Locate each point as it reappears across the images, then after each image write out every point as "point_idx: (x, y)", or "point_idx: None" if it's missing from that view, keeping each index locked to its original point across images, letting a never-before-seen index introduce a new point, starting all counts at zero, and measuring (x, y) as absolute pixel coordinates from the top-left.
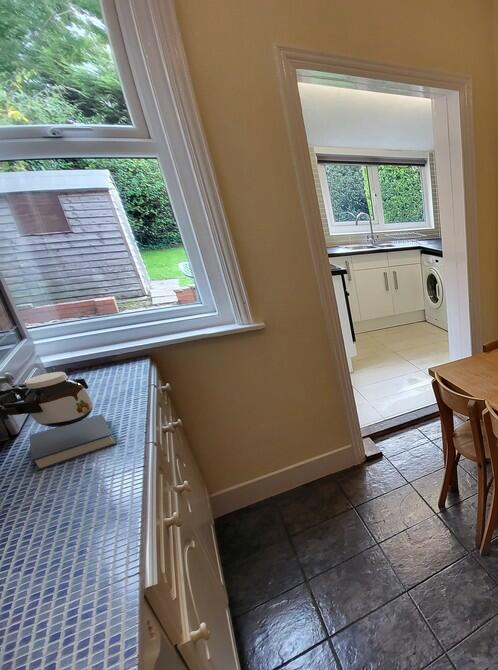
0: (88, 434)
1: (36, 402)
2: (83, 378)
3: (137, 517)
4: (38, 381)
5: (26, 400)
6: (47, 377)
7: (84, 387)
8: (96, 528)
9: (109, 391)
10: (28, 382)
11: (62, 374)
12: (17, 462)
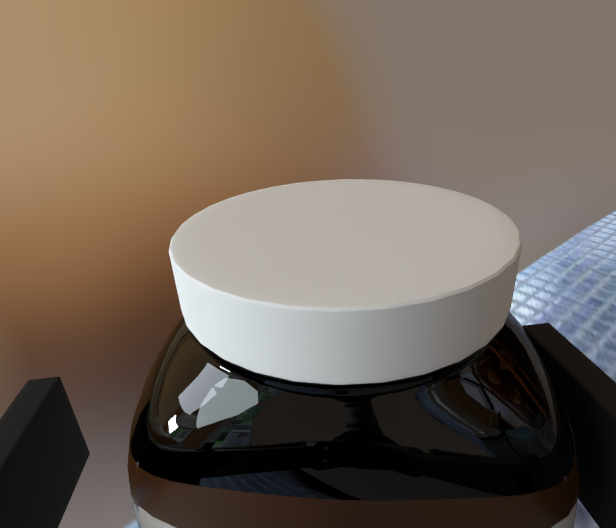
0: None
1: (529, 335)
2: (29, 380)
3: (555, 251)
4: (445, 197)
5: (564, 410)
6: (346, 206)
7: (80, 449)
8: (607, 271)
9: None
10: (494, 229)
11: (280, 187)
12: None
